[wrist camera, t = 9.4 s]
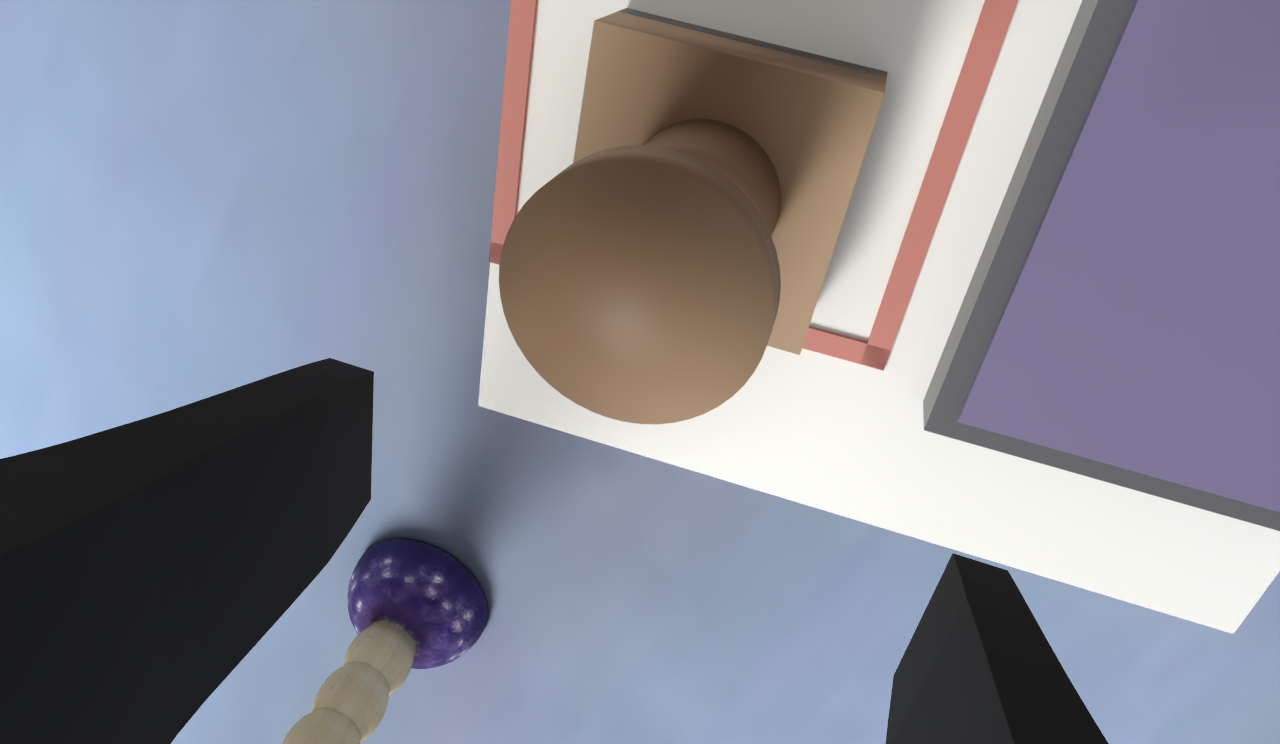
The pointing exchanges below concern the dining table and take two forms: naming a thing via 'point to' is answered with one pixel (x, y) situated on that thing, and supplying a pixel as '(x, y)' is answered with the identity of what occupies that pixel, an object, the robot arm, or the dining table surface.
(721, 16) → the paper sheet
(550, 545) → the dining table surface
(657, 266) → the stamp
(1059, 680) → the robot arm
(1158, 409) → the ink pad
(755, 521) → the dining table surface
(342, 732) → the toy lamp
